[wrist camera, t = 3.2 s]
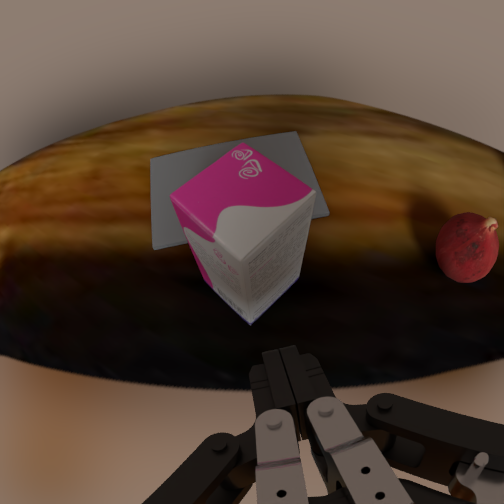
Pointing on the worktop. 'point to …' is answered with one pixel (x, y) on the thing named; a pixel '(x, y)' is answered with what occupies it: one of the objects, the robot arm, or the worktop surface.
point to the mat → (196, 160)
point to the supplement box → (246, 228)
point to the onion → (467, 247)
